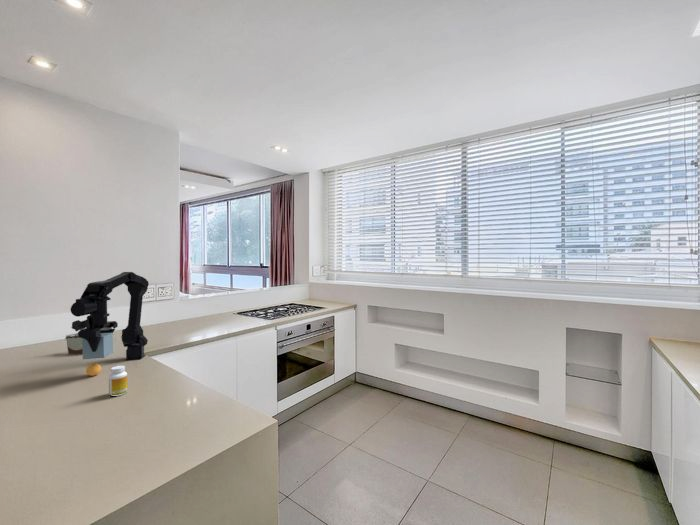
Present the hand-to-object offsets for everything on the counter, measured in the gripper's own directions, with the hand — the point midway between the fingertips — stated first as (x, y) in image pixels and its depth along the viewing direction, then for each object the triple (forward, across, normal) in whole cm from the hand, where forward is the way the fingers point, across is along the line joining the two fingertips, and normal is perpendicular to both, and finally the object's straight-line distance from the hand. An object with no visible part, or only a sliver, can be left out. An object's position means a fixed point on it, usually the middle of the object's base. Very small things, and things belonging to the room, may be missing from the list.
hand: (99, 349), depth 133 cm
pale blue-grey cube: (+3, 0, 0) cm, 3 cm away
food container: (+11, -40, -27) cm, 50 cm away
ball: (+8, 0, -2) cm, 9 cm away
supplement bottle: (+11, +24, +17) cm, 32 cm away
